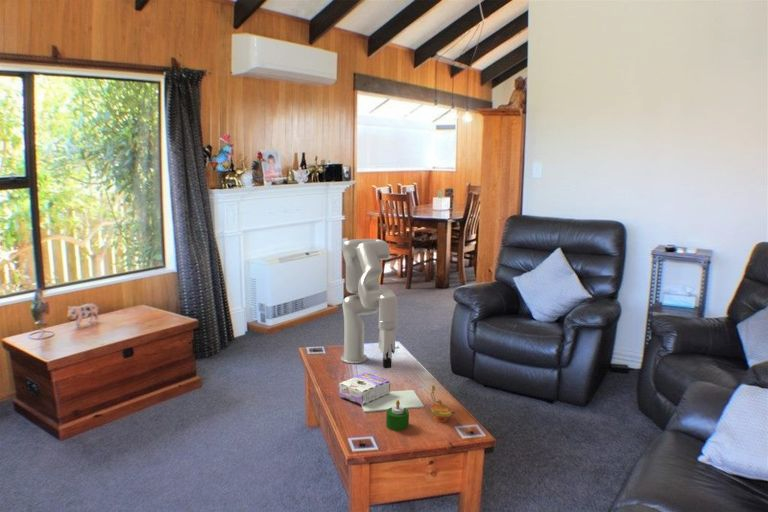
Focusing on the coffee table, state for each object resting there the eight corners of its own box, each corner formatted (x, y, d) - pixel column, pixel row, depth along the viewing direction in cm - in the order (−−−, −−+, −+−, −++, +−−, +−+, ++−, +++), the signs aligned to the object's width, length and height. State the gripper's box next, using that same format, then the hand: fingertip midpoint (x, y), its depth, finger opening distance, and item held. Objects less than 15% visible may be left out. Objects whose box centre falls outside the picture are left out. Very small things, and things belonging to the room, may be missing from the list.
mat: (356, 395, 241) (356, 394, 241) (413, 391, 246) (413, 389, 246) (364, 412, 226) (364, 410, 226) (423, 407, 231) (423, 405, 231)
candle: (391, 432, 210) (392, 406, 208) (382, 422, 217) (383, 397, 216) (412, 428, 213) (413, 402, 211) (402, 419, 221) (403, 394, 219)
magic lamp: (446, 432, 210) (447, 404, 208) (423, 412, 226) (423, 385, 225) (462, 429, 213) (464, 401, 211) (438, 409, 229) (439, 382, 227)
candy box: (366, 385, 251) (338, 396, 239) (366, 372, 250) (338, 382, 238) (390, 394, 242) (362, 406, 230) (390, 380, 241) (362, 391, 229)
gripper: (374, 319, 242) (374, 361, 245) (382, 330, 228) (382, 374, 231) (392, 318, 244) (391, 360, 247) (401, 329, 230) (400, 373, 233)
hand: (387, 367), depth 239 cm, fingers closed
